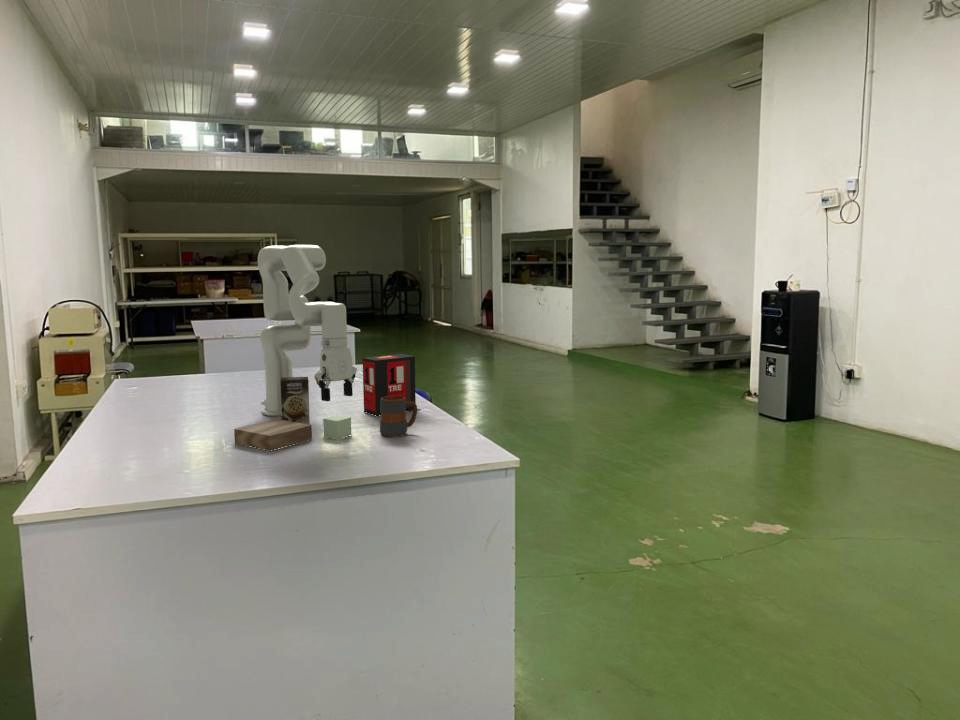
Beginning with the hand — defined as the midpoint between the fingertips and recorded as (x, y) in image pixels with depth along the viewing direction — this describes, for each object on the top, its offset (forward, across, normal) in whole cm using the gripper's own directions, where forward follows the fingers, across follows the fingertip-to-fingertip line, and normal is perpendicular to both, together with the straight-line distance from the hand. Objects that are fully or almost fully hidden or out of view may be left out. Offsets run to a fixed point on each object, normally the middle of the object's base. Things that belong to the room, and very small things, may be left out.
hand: (337, 398), depth 218 cm
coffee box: (+12, +3, +23) cm, 26 cm away
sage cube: (+12, 0, +1) cm, 12 cm away
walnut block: (+12, -15, +13) cm, 23 cm away
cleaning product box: (+12, +37, +11) cm, 41 cm away
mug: (+13, +13, -13) cm, 23 cm away
